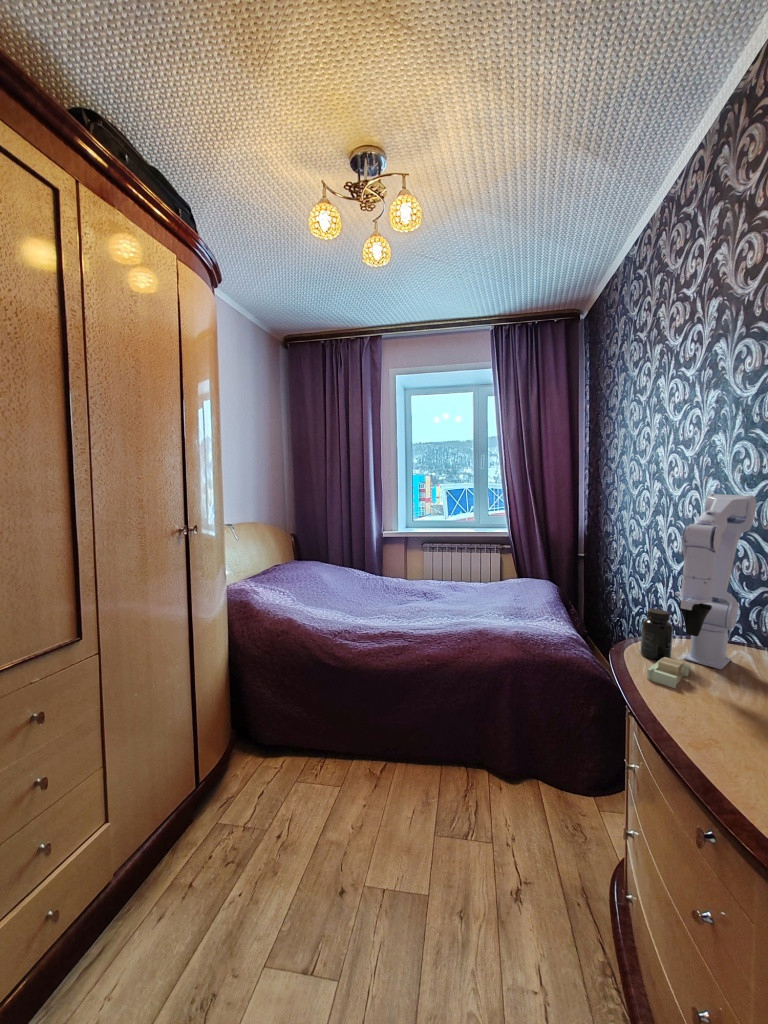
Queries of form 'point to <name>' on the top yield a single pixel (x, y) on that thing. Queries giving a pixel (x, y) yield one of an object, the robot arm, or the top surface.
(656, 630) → the supplement bottle
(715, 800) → the top surface
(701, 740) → the top surface
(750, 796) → the top surface
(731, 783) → the top surface
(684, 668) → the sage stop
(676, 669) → the birch block
